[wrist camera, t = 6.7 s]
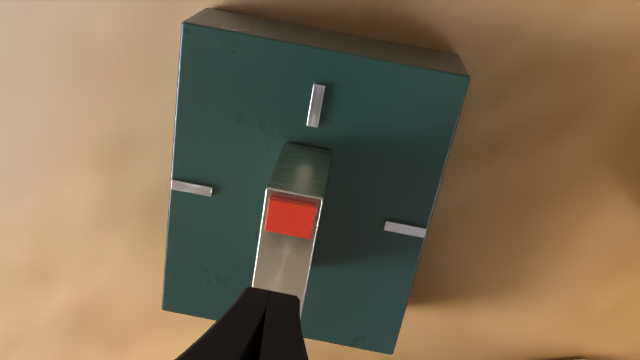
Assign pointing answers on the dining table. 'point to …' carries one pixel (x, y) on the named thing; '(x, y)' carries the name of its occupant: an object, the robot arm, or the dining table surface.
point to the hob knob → (291, 220)
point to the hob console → (314, 131)
